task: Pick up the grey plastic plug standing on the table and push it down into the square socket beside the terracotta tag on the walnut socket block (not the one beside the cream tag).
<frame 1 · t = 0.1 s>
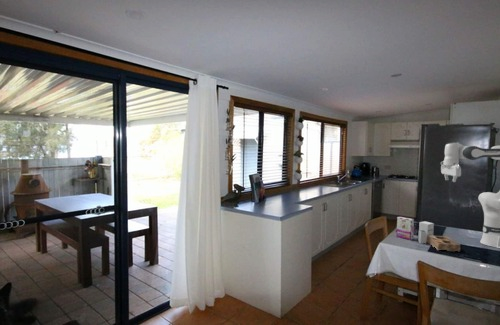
hand: (450, 181, 201), 48 cm above the table, fingers open, 8 cm apart
plug: (422, 242, 203), on the table
candy bar box: (404, 238, 213), on the table
socket block: (442, 246, 195), on the table
supplement box: (425, 238, 213), on the table
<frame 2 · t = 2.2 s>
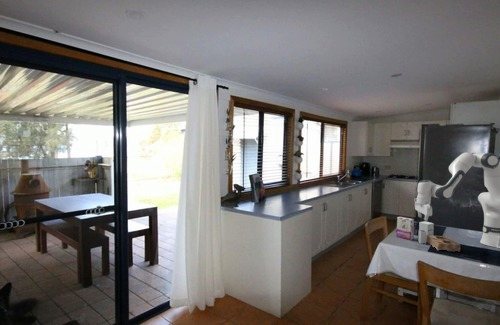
hand: (422, 218, 202), 19 cm above the table, fingers open, 8 cm apart
nothing on the table moved.
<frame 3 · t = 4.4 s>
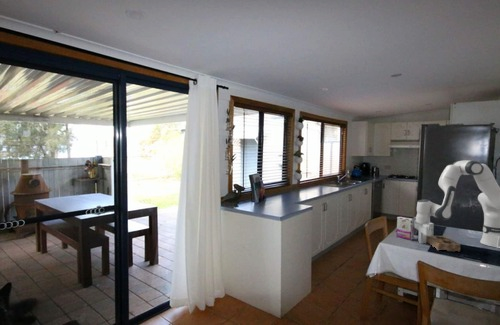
hand: (422, 237, 203), 4 cm above the table, fingers closed on plug, 4 cm apart
plug: (422, 242, 203), on the table, touching gripper
everything else where it was.
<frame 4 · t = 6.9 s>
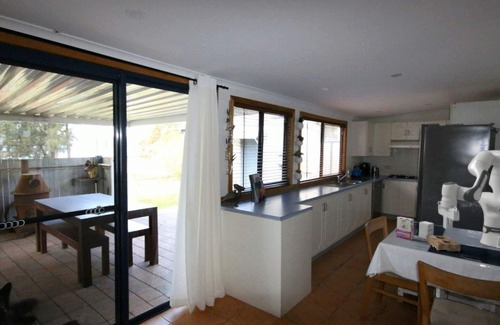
hand: (448, 223, 189), 19 cm above the table, fingers closed on plug, 4 cm apart
plug: (447, 228, 190), point 15 cm above the table, touching gripper
everything else where it was.
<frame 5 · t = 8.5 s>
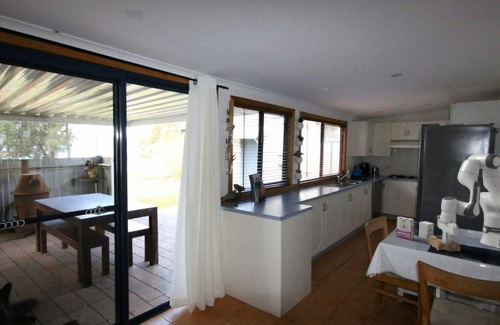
hand: (447, 237, 190), 8 cm above the table, fingers closed on plug, 4 cm apart
plug: (446, 242, 190), point 4 cm above the table, touching gripper
everything else where it was.
when the fingers open (6 cm above the table, at t = 9.6 s): plug drops 2 cm, resting in socket block.
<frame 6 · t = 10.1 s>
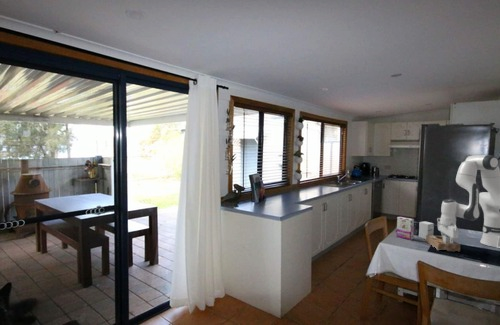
hand: (447, 240, 190), 6 cm above the table, fingers open, 8 cm apart
plug: (446, 248, 191), resting in socket block
everything else where it was.
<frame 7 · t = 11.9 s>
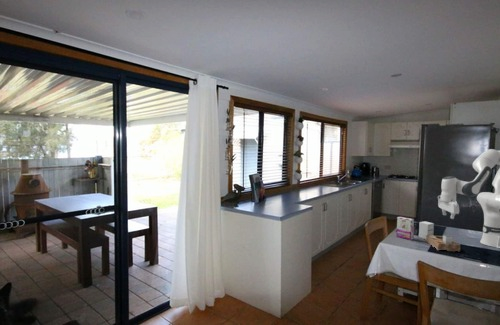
hand: (448, 216, 194), 22 cm above the table, fingers open, 8 cm apart
nothing on the table moved.
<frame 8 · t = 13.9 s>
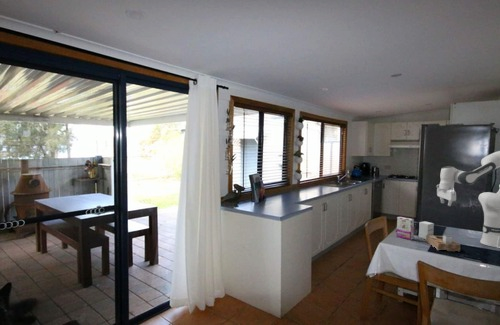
hand: (445, 204, 205), 29 cm above the table, fingers open, 8 cm apart
nothing on the table moved.
at the end: plug 0.1 cm from the target spot on the socket block, point 0.0 cm above the socket block's base; plug tilted 0°; the gripper is holding nothing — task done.
